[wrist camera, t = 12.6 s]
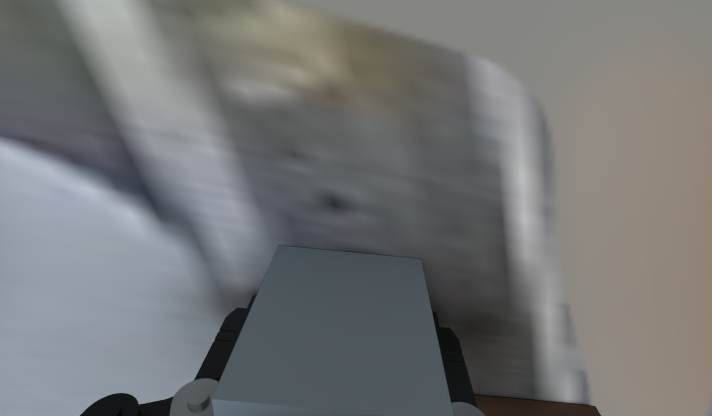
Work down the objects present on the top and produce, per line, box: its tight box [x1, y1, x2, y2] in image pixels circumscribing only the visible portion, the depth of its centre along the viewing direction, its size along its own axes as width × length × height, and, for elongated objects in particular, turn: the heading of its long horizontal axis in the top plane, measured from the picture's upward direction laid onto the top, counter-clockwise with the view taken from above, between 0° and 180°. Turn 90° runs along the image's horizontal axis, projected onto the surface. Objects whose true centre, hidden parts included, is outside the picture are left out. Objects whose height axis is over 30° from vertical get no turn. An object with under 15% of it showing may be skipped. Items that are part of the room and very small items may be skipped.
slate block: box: [212, 245, 454, 416], centre depth 11 cm, size 5×5×6 cm
